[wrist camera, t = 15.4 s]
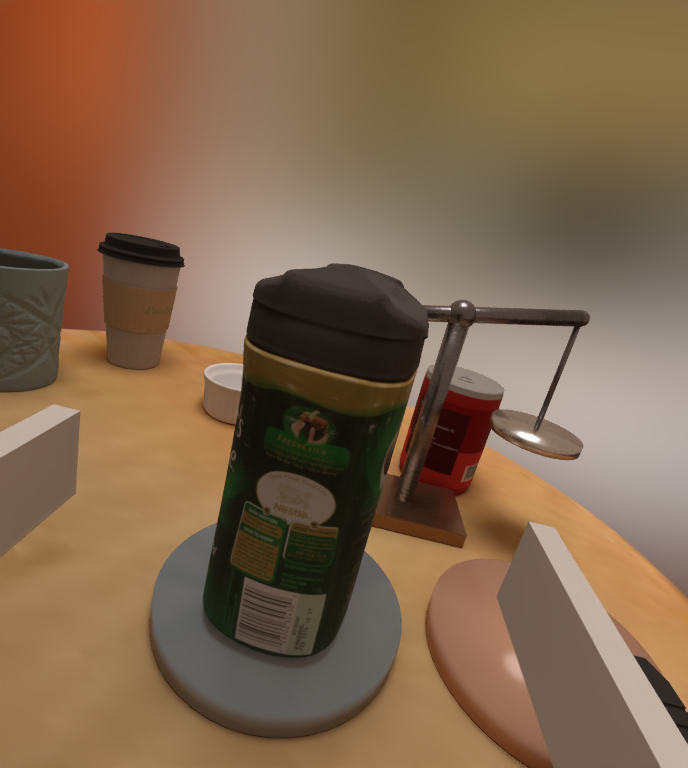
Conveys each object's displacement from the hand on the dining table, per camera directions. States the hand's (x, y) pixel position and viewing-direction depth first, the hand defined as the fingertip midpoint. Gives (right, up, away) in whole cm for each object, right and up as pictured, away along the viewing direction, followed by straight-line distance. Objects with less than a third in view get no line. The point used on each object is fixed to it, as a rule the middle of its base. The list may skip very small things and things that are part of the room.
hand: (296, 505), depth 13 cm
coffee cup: (-25, +6, +45) cm, 52 cm away
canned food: (+11, -6, +35) cm, 37 cm away
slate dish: (-2, -10, +14) cm, 17 cm away
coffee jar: (-2, -9, +13) cm, 16 cm away
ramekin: (-10, 0, +38) cm, 40 cm away
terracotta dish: (+13, -13, +15) cm, 24 cm away
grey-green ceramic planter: (-33, +4, +33) cm, 47 cm away
